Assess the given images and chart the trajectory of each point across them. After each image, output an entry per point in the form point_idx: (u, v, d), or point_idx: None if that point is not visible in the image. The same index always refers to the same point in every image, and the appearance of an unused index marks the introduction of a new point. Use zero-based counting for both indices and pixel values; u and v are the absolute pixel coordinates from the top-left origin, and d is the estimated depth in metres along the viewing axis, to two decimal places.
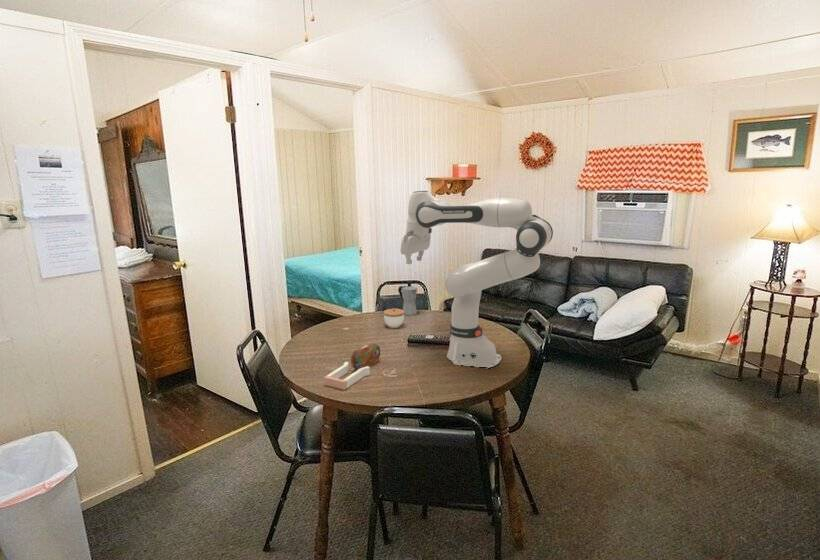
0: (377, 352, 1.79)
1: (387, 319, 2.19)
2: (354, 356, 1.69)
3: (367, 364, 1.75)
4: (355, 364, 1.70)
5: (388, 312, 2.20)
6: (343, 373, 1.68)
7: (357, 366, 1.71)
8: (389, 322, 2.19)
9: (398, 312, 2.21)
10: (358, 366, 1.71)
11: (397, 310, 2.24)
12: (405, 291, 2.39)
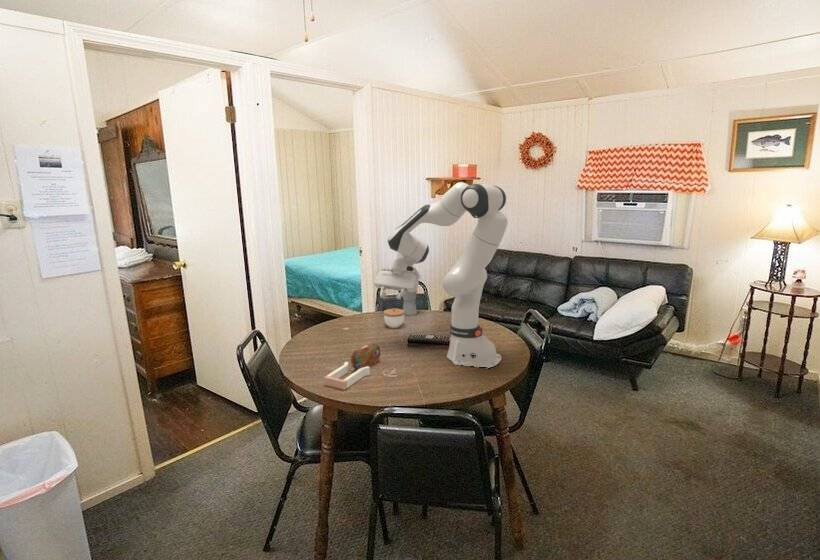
0: (377, 352, 1.79)
1: (387, 319, 2.19)
2: (354, 356, 1.69)
3: (367, 364, 1.75)
4: (355, 364, 1.70)
5: (388, 312, 2.20)
6: (343, 373, 1.68)
7: (357, 366, 1.71)
8: (389, 322, 2.19)
9: (398, 312, 2.21)
10: (358, 366, 1.71)
11: (397, 310, 2.24)
12: None
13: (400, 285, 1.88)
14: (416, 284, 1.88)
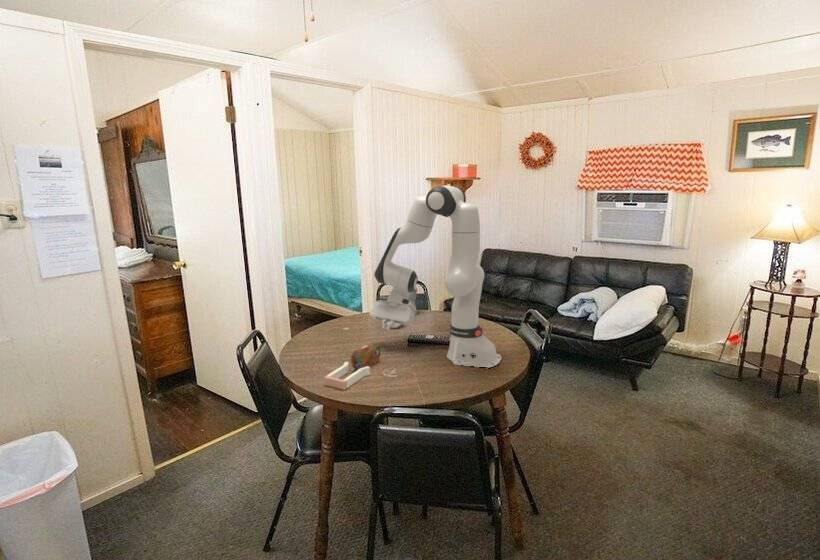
0: (377, 352, 1.79)
1: None
2: (354, 356, 1.69)
3: (367, 364, 1.75)
4: (355, 364, 1.70)
5: None
6: (343, 373, 1.68)
7: (357, 366, 1.71)
8: (389, 322, 2.19)
9: None
10: (358, 366, 1.71)
11: None
12: None
13: (395, 318, 1.88)
14: (411, 317, 1.87)
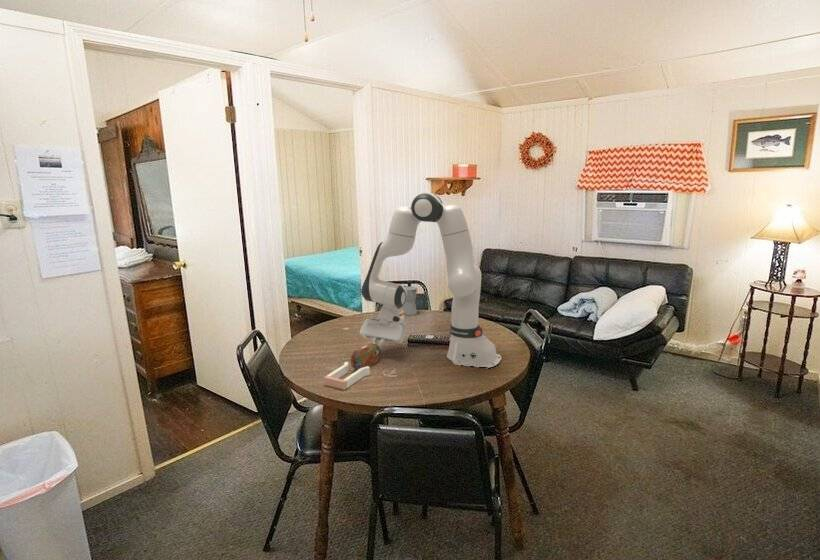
0: (377, 352, 1.79)
1: None
2: (354, 356, 1.69)
3: (367, 364, 1.75)
4: (355, 364, 1.69)
5: None
6: (343, 373, 1.68)
7: (357, 366, 1.70)
8: None
9: None
10: (358, 366, 1.71)
11: None
12: None
13: (386, 336, 1.81)
14: (402, 335, 1.81)
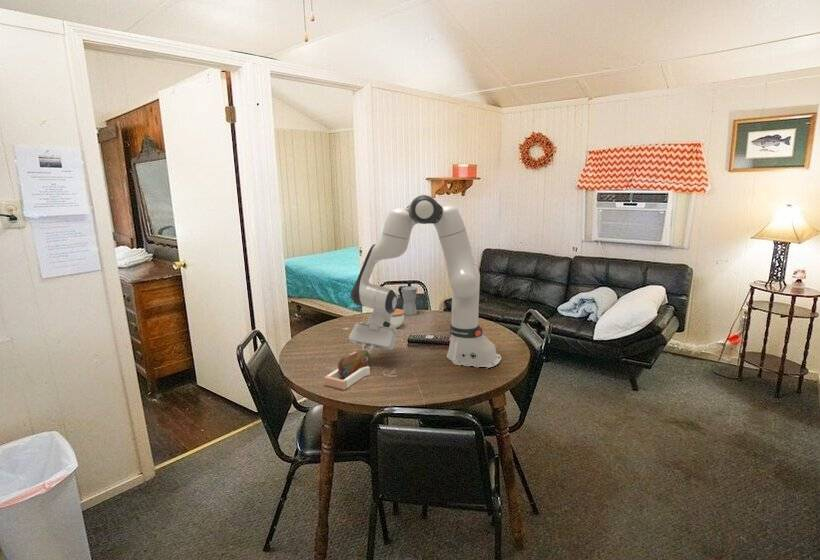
0: (366, 359, 1.72)
1: None
2: (341, 363, 1.63)
3: (355, 371, 1.68)
4: (342, 371, 1.63)
5: None
6: None
7: (344, 373, 1.64)
8: None
9: (398, 312, 2.21)
10: (345, 373, 1.64)
11: (397, 310, 2.24)
12: (405, 291, 2.39)
13: (376, 342, 1.75)
14: (393, 341, 1.74)
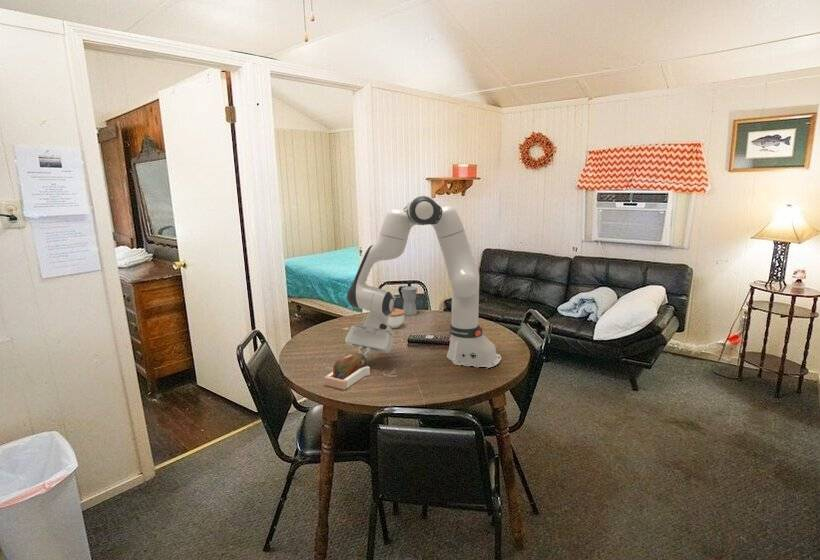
0: (362, 362, 1.70)
1: None
2: (336, 366, 1.60)
3: None
4: (337, 375, 1.60)
5: None
6: None
7: (339, 377, 1.61)
8: (389, 322, 2.19)
9: (398, 312, 2.21)
10: (340, 377, 1.62)
11: (397, 310, 2.24)
12: (405, 291, 2.39)
13: (372, 345, 1.72)
14: (390, 344, 1.72)
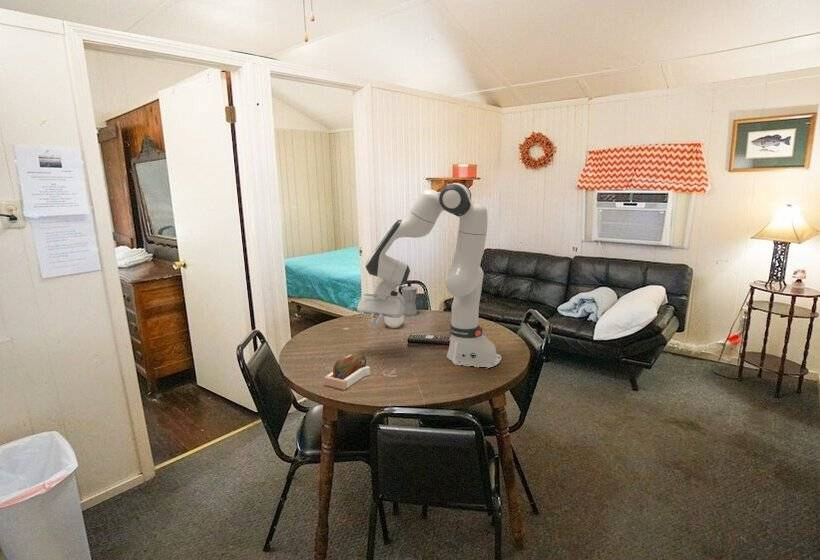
0: (362, 362, 1.70)
1: (387, 319, 2.19)
2: (336, 366, 1.60)
3: None
4: (337, 375, 1.60)
5: None
6: None
7: (339, 377, 1.61)
8: (389, 322, 2.19)
9: None
10: (340, 377, 1.62)
11: None
12: (405, 291, 2.39)
13: (384, 311, 1.81)
14: (401, 310, 1.81)
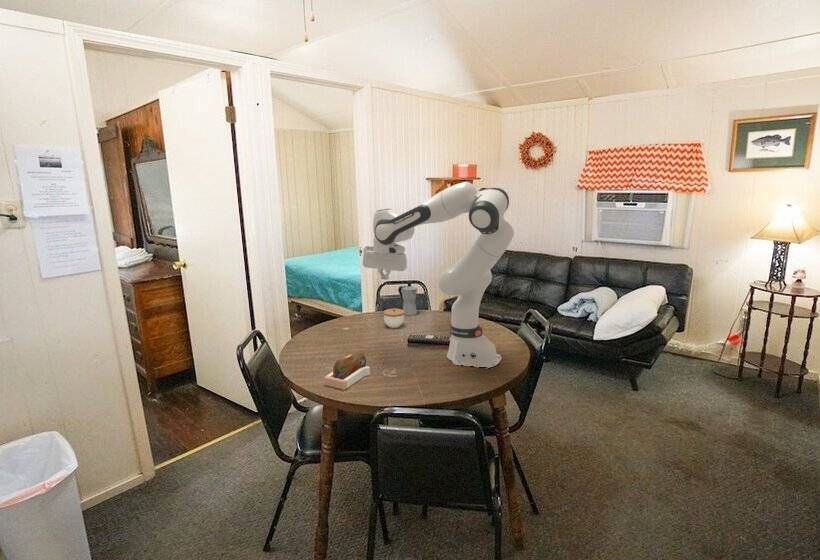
0: (362, 362, 1.70)
1: (387, 319, 2.19)
2: (336, 366, 1.60)
3: None
4: (337, 375, 1.60)
5: (388, 312, 2.20)
6: None
7: (339, 377, 1.61)
8: (389, 322, 2.19)
9: (398, 312, 2.21)
10: (340, 377, 1.62)
11: (397, 310, 2.24)
12: (405, 291, 2.39)
13: (389, 268, 1.84)
14: (404, 263, 1.82)
